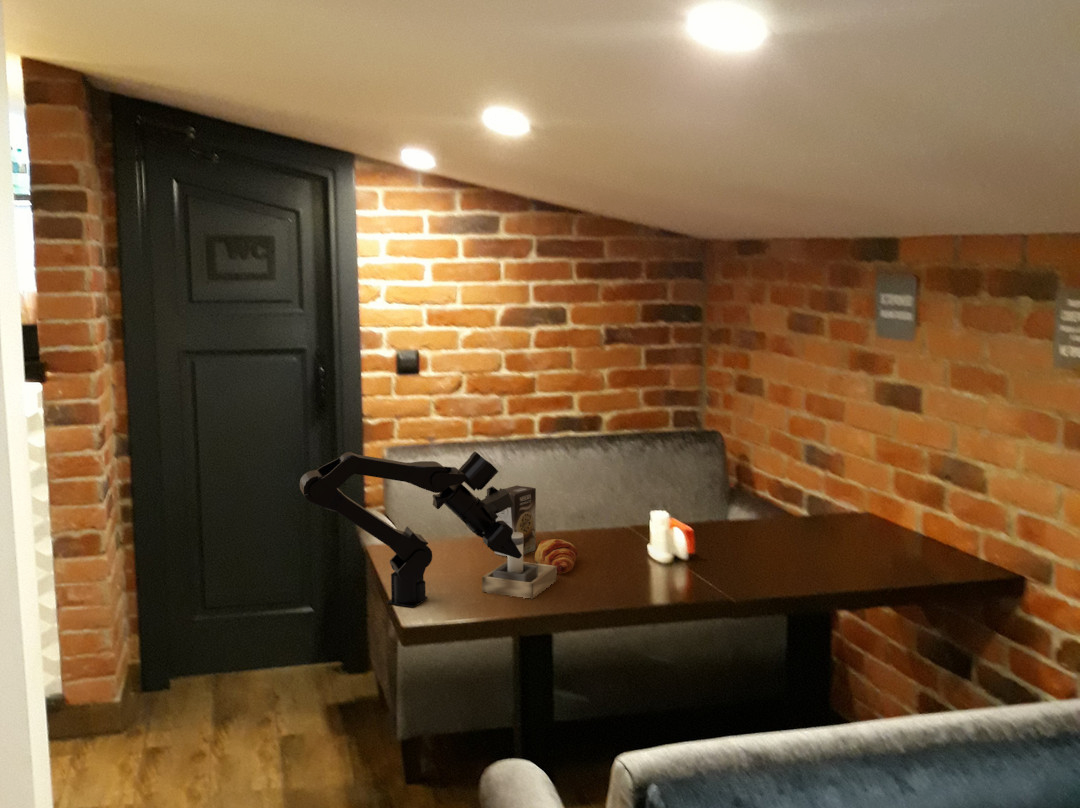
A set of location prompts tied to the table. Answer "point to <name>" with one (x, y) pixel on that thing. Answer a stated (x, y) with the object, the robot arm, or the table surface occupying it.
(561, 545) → the croissant
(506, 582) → the box
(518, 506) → the coffee box
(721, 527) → the table surface
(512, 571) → the white banded cylinder
